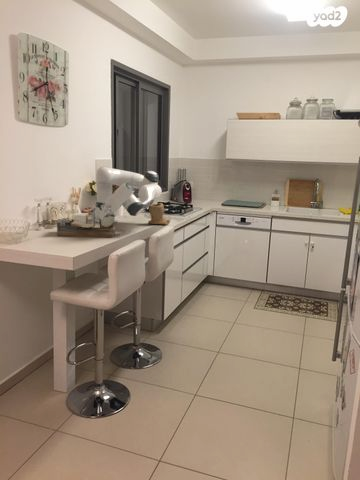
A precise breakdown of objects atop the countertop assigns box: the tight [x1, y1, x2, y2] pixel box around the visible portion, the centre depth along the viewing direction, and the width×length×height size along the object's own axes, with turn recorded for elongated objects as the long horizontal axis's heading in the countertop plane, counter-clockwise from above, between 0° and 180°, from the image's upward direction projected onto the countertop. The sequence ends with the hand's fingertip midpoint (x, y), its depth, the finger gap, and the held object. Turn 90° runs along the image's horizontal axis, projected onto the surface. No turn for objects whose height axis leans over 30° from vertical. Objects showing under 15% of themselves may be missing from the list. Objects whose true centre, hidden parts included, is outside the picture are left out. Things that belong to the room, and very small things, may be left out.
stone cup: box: [147, 202, 171, 226], centre depth 291 cm, size 15×12×15 cm
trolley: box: [71, 207, 97, 230], centre depth 246 cm, size 10×13×12 cm
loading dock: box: [56, 218, 116, 239], centre depth 247 cm, size 15×32×8 cm, turn 93°
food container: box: [98, 213, 116, 228], centre depth 265 cm, size 12×6×10 cm, turn 141°
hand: (95, 220), depth 246 cm, fingers closed
